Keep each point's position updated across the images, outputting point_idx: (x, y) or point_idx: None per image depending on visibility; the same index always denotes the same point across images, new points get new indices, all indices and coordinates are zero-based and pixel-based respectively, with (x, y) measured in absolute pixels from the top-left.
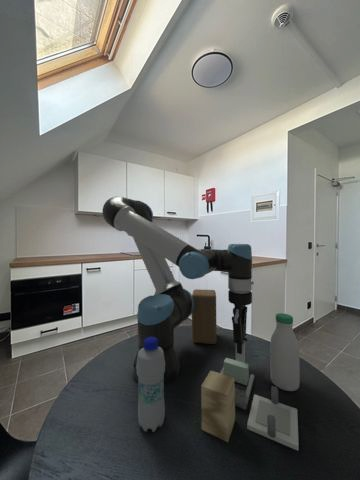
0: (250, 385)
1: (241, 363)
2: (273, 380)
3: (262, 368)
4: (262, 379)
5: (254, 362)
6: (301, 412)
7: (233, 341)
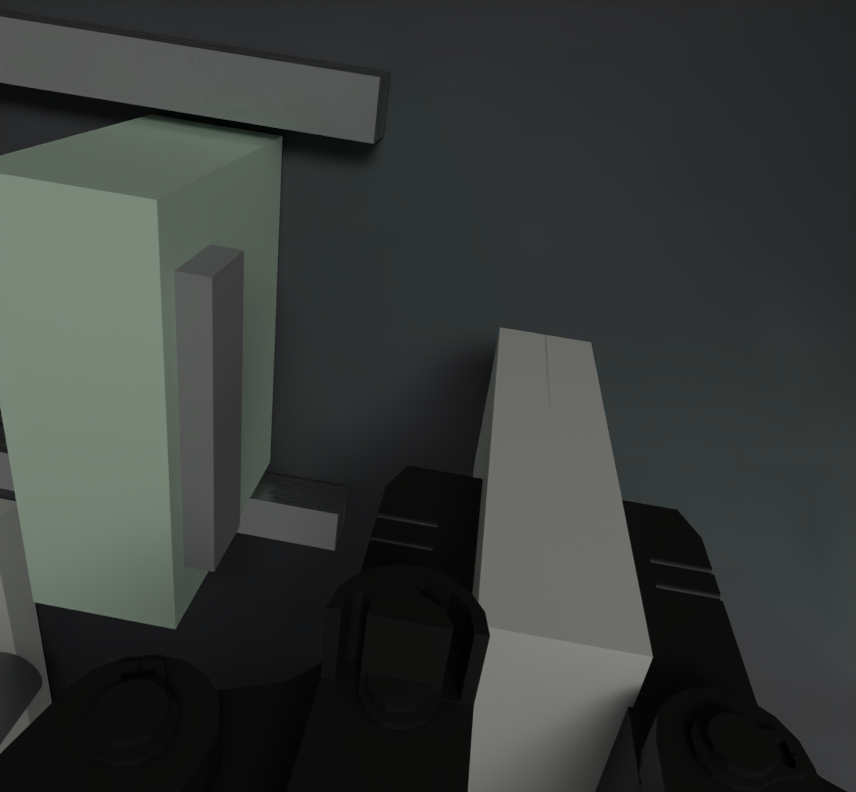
0: None
1: (121, 525)
2: None
3: None
4: None
5: (723, 546)
6: None
7: (340, 605)
